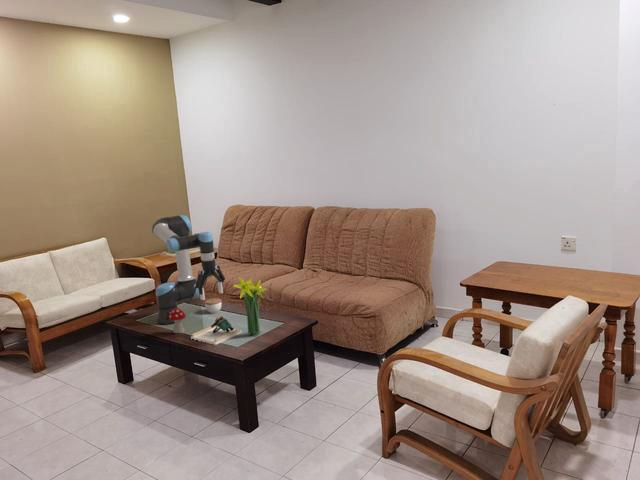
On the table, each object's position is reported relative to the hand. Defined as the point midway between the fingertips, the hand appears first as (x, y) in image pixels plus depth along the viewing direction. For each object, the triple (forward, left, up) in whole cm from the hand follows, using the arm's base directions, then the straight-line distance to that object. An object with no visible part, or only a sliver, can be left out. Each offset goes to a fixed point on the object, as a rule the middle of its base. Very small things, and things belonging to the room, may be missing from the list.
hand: (212, 296), depth 287 cm
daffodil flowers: (+21, +10, -23) cm, 32 cm away
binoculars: (+1, -1, -22) cm, 22 cm away
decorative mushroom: (-23, -8, -23) cm, 34 cm away
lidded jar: (-34, +30, -23) cm, 51 cm away
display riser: (+2, -2, -23) cm, 23 cm away
